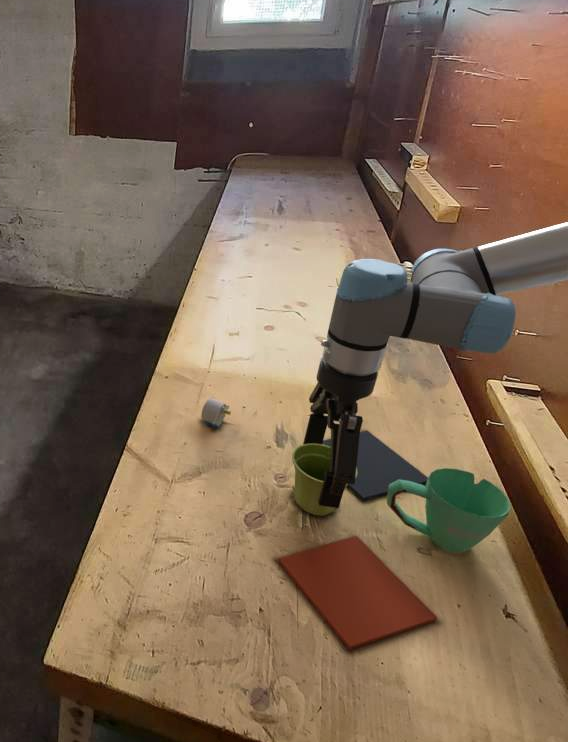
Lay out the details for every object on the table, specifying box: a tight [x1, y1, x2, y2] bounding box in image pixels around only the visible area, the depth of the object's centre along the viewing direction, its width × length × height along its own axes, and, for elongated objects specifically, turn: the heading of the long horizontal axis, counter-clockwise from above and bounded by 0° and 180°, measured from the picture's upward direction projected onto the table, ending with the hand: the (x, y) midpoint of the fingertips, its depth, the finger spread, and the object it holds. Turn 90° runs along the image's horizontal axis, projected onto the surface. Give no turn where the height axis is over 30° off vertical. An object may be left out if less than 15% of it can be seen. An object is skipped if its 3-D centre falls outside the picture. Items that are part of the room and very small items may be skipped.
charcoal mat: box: [322, 430, 429, 501], centre depth 101 cm, size 14×14×1 cm
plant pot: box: [291, 443, 357, 516], centre depth 92 cm, size 9×9×9 cm
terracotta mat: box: [277, 535, 438, 650], centre depth 79 cm, size 14×14×1 cm
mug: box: [386, 467, 511, 554], centre depth 85 cm, size 15×10×10 cm
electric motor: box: [200, 397, 232, 429], centre depth 112 cm, size 7×5×5 cm
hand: (319, 474), depth 91 cm, fingers open, 13 cm apart
